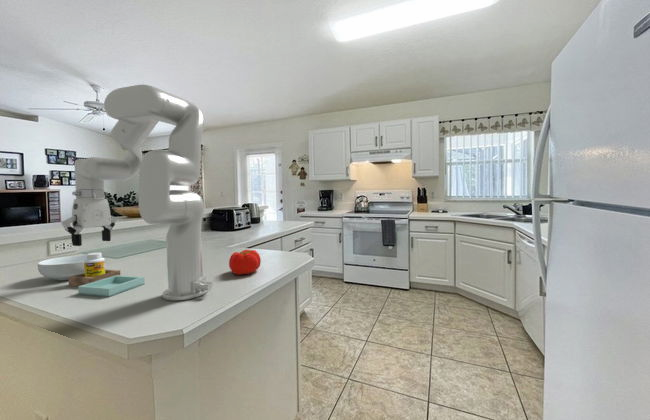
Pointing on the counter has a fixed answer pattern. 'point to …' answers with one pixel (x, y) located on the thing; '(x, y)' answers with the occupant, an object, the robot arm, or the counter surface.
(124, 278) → the tray
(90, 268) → the supplement bottle
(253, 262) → the tomato
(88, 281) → the socket block
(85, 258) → the cereal bowl
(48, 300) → the counter surface
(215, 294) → the counter surface
